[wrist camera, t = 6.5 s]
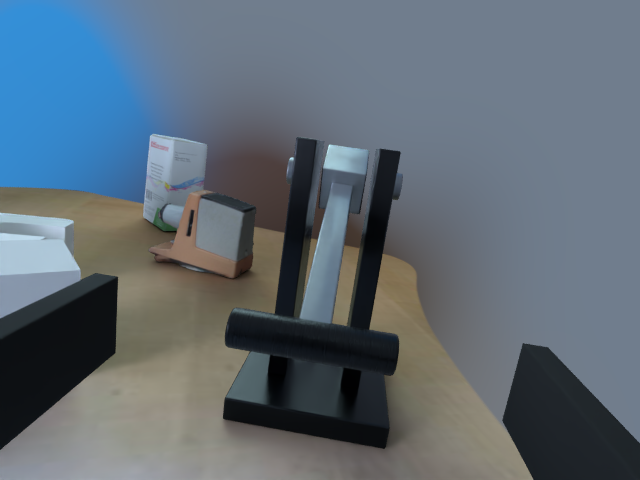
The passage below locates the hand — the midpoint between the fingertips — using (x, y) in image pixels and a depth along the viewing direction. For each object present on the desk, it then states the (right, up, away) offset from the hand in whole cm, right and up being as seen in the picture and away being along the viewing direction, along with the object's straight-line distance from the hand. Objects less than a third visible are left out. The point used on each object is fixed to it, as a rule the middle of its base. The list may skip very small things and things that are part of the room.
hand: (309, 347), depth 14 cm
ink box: (-20, +5, +45) cm, 49 cm away
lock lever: (+1, +3, +6) cm, 6 cm away
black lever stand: (0, -5, +12) cm, 13 cm away
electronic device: (-12, +1, +30) cm, 32 cm away
